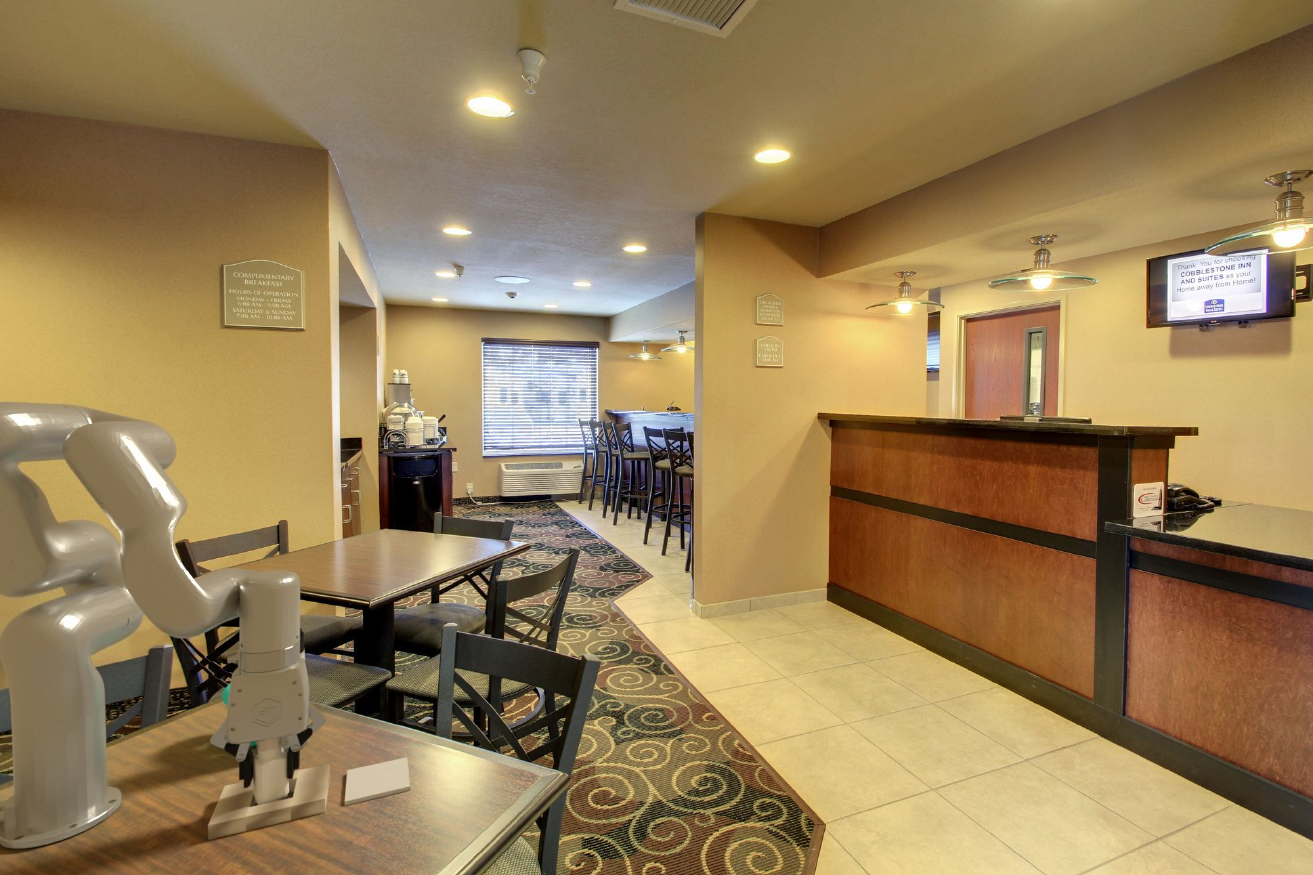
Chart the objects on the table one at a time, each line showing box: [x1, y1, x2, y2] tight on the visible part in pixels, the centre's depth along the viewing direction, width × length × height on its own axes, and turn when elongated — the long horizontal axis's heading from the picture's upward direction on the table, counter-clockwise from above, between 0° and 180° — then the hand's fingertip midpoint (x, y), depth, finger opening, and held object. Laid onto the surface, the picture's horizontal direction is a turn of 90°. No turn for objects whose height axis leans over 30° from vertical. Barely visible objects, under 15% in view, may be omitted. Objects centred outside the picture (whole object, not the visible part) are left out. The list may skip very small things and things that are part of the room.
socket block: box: [207, 763, 331, 841], centre depth 90 cm, size 14×10×2 cm
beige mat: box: [344, 757, 411, 806], centre depth 96 cm, size 9×9×1 cm
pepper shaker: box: [252, 737, 290, 805], centre depth 90 cm, size 4×4×10 cm
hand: (270, 777), depth 90 cm, fingers closed on pepper shaker, 4 cm apart
